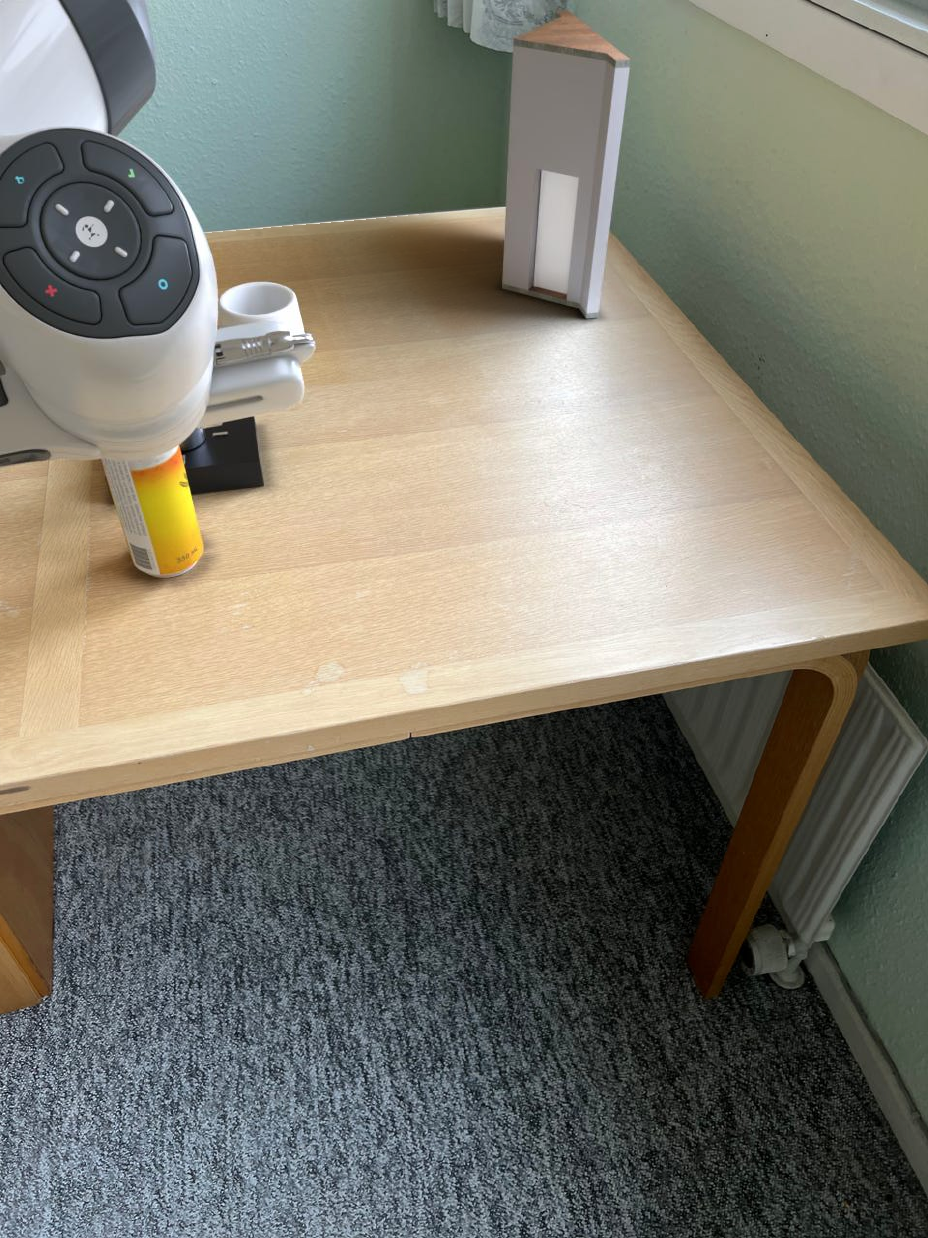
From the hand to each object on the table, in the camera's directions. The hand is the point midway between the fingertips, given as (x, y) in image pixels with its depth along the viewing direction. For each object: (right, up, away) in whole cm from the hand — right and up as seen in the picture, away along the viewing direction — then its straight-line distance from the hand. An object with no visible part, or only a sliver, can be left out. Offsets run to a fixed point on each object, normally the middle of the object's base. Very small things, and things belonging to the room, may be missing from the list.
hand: (134, 430), depth 59 cm
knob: (-6, +5, +29) cm, 30 cm away
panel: (-6, +3, +32) cm, 32 cm away
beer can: (-5, -7, +22) cm, 23 cm away
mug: (-3, +19, +48) cm, 52 cm away
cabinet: (+31, +32, +61) cm, 75 cm away
